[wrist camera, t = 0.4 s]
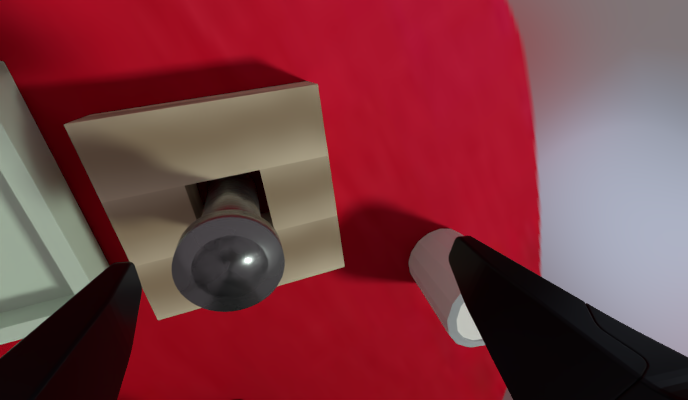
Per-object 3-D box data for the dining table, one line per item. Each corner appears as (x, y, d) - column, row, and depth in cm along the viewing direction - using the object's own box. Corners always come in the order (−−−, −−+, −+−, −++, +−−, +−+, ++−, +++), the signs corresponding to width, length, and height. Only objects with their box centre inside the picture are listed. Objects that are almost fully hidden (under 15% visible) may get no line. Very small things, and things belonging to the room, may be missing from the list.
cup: (390, 248, 27) (436, 303, 21) (460, 207, 28) (525, 249, 21) (415, 301, 30) (461, 363, 24) (478, 264, 31) (539, 315, 25)
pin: (273, 213, 23) (293, 294, 15) (208, 228, 22) (191, 324, 14) (259, 152, 21) (272, 208, 13) (186, 166, 20) (154, 236, 12)
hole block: (333, 245, 25) (344, 266, 23) (167, 290, 23) (158, 320, 20) (306, 80, 20) (317, 84, 18) (89, 114, 18) (63, 124, 15)
